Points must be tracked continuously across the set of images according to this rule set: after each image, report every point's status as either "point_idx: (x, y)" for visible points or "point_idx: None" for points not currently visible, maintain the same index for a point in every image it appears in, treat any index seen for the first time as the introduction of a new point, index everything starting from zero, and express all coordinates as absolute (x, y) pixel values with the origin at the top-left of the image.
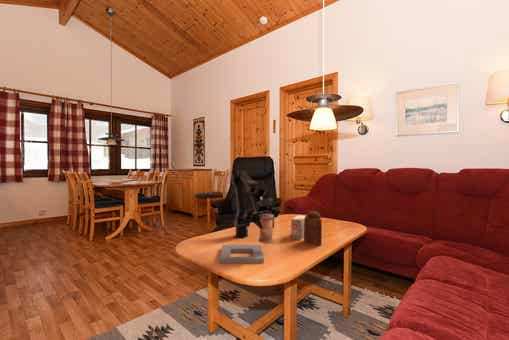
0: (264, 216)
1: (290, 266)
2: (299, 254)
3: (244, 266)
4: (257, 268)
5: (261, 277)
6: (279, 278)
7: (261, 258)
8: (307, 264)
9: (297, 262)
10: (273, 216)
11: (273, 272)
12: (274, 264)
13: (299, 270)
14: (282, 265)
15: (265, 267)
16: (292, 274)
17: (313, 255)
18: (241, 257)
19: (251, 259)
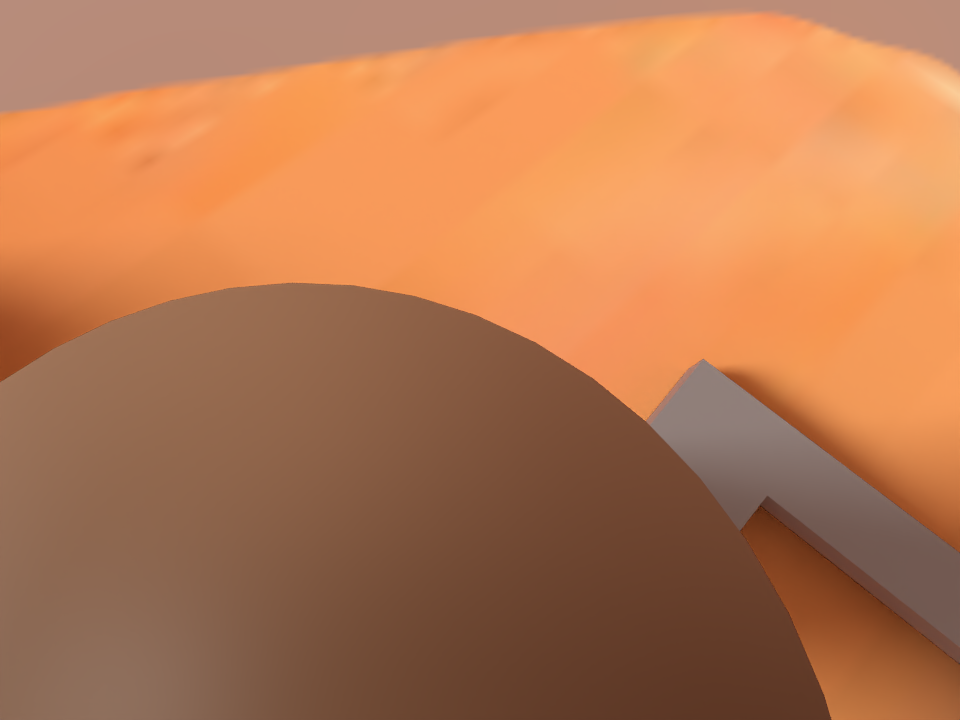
0: (766, 584)
1: (534, 136)
2: (195, 275)
3: (939, 444)
4: (845, 310)
5: (943, 143)
6: (814, 36)
7: (727, 380)
8: (372, 69)
9: (401, 154)
10: (82, 369)
11: (771, 146)
12: (623, 267)
13: (542, 34)
14: (577, 199)
15: (756, 274)
16: (658, 20)
17: (122, 165)
18: (931, 586)
19: (832, 461)
